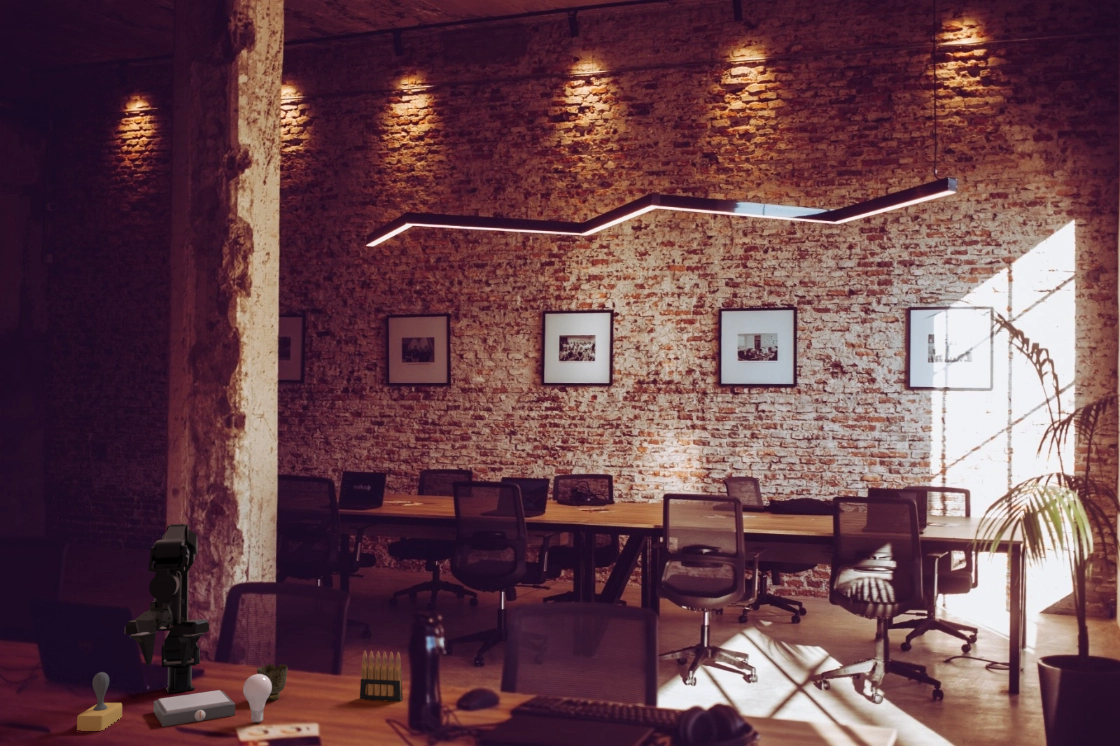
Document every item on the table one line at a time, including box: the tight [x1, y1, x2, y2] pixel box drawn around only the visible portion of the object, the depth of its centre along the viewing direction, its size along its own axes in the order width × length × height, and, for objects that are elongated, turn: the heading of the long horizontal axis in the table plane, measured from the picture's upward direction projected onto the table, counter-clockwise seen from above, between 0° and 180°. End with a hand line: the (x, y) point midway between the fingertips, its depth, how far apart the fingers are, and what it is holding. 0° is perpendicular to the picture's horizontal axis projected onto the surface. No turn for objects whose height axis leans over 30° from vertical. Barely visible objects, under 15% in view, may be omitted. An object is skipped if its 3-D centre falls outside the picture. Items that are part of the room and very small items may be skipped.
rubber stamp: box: [76, 671, 123, 732], centre depth 219 cm, size 10×6×12 cm, turn 179°
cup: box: [256, 663, 289, 702], centre depth 239 cm, size 8×7×8 cm
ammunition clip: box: [359, 650, 403, 703], centre depth 238 cm, size 11×2×12 cm, turn 80°
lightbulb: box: [242, 673, 272, 724], centre depth 220 cm, size 6×6×11 cm
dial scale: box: [153, 689, 236, 728], centre depth 227 cm, size 14×16×3 cm
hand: (166, 665), depth 218 cm, fingers open, 9 cm apart
